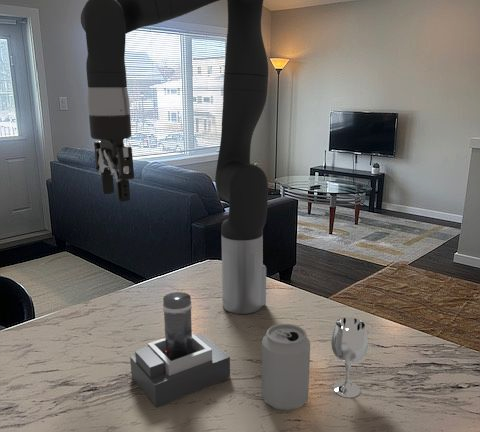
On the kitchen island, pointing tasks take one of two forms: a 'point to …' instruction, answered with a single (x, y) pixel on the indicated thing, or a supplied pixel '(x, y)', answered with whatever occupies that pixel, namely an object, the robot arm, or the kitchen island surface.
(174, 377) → the tray on grey base
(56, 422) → the kitchen island surface
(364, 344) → the wineglass
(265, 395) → the can
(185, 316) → the thermos
